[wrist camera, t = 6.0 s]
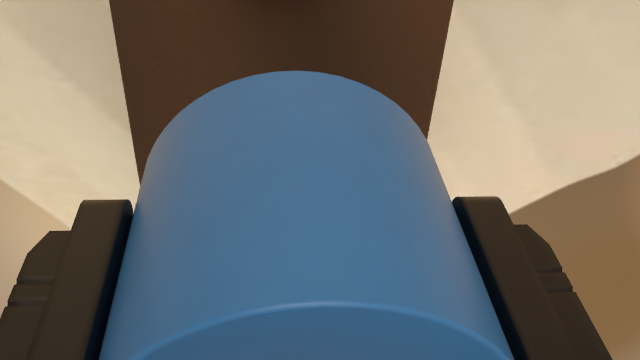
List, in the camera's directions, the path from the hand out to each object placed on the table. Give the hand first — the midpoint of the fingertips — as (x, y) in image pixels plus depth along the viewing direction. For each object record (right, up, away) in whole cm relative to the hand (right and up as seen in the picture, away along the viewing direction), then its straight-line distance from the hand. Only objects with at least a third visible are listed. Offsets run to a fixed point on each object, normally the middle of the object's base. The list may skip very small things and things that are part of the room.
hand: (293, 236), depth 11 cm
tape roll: (0, +1, +1) cm, 1 cm away
